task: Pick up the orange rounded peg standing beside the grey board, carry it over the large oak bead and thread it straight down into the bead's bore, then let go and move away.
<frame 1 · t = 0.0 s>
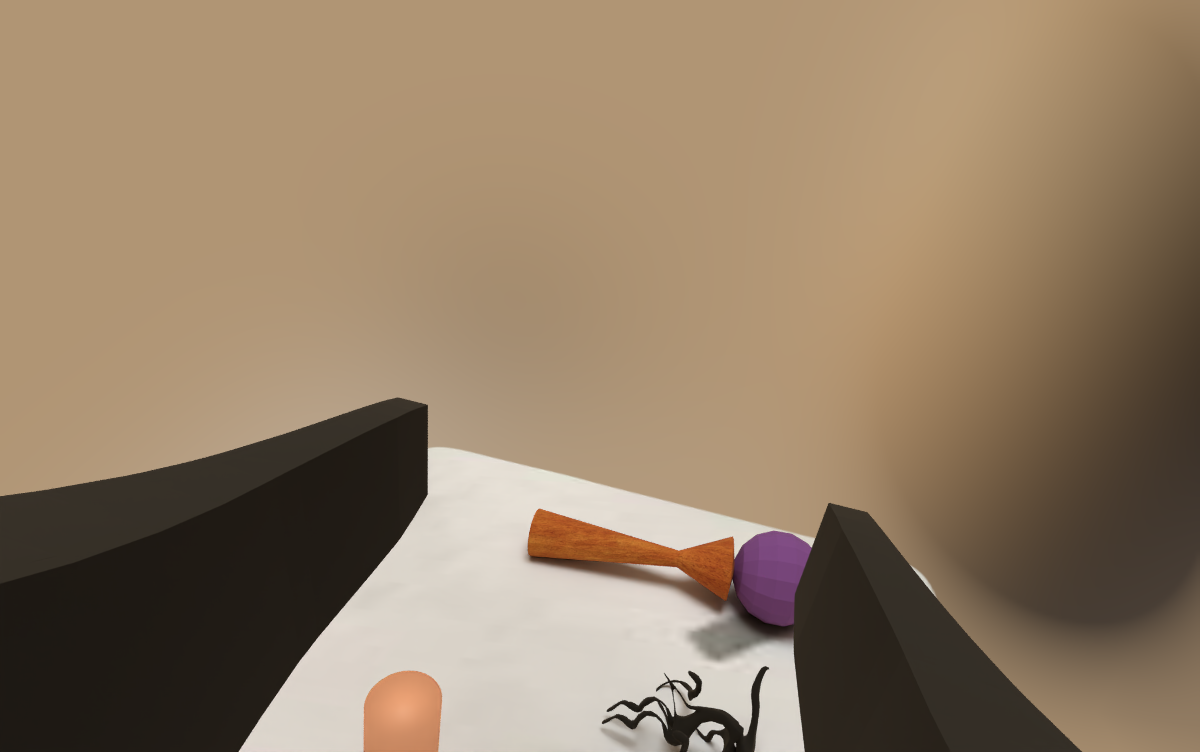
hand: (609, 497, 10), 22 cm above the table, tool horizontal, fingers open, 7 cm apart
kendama: (666, 588, 41), on the table
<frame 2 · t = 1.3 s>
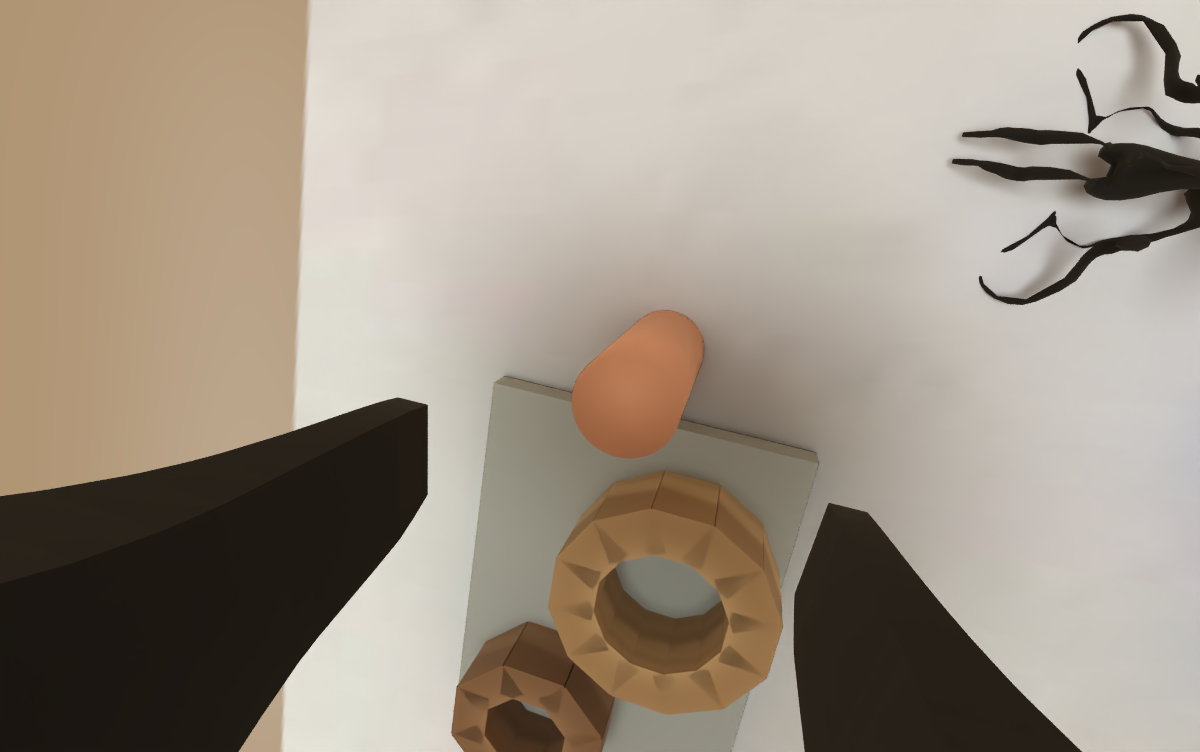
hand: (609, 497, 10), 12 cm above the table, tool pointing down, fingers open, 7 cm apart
creature: (1080, 177, 17), on the table
oak bead: (671, 566, 22), resting on board
board: (615, 590, 24), on the table
walnut bead: (546, 686, 25), resting on board
orange rounded peg: (665, 348, 21), on the table
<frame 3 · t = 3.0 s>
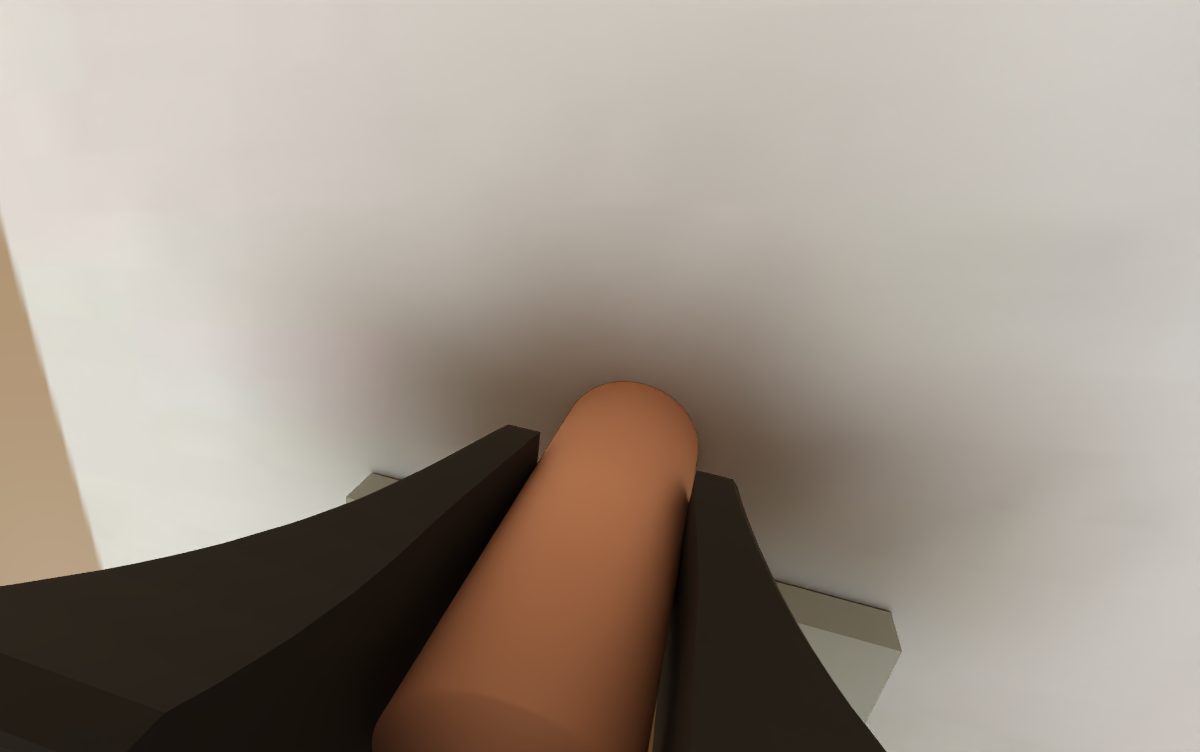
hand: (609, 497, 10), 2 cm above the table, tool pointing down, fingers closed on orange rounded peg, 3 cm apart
orange rounded peg: (629, 443, 12), on the table, touching gripper
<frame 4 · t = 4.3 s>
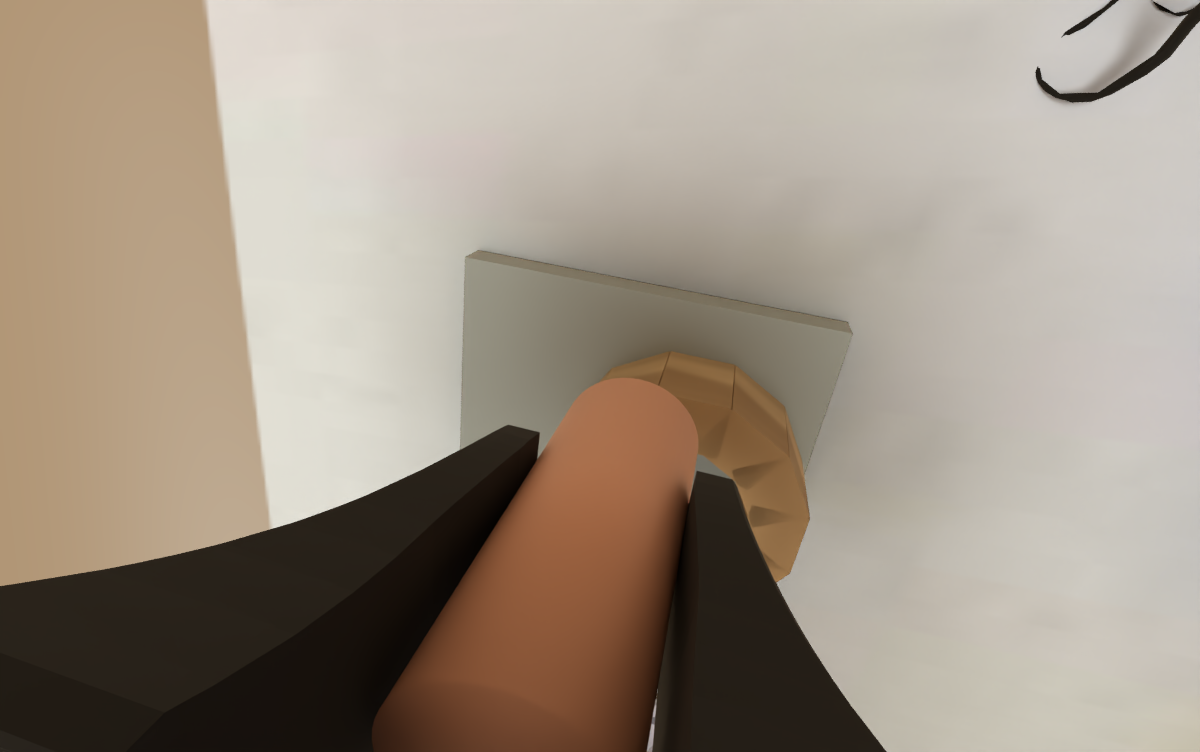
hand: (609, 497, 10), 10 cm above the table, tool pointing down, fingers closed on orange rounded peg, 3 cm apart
oak bead: (679, 458, 20), resting on board
board: (618, 486, 22), on the table
orange rounded peg: (629, 439, 12), point 8 cm above the table, touching gripper
when the fingers open (5 cm above the table, at t = 5.8 s): orange rounded peg drops 2 cm, resting on board.
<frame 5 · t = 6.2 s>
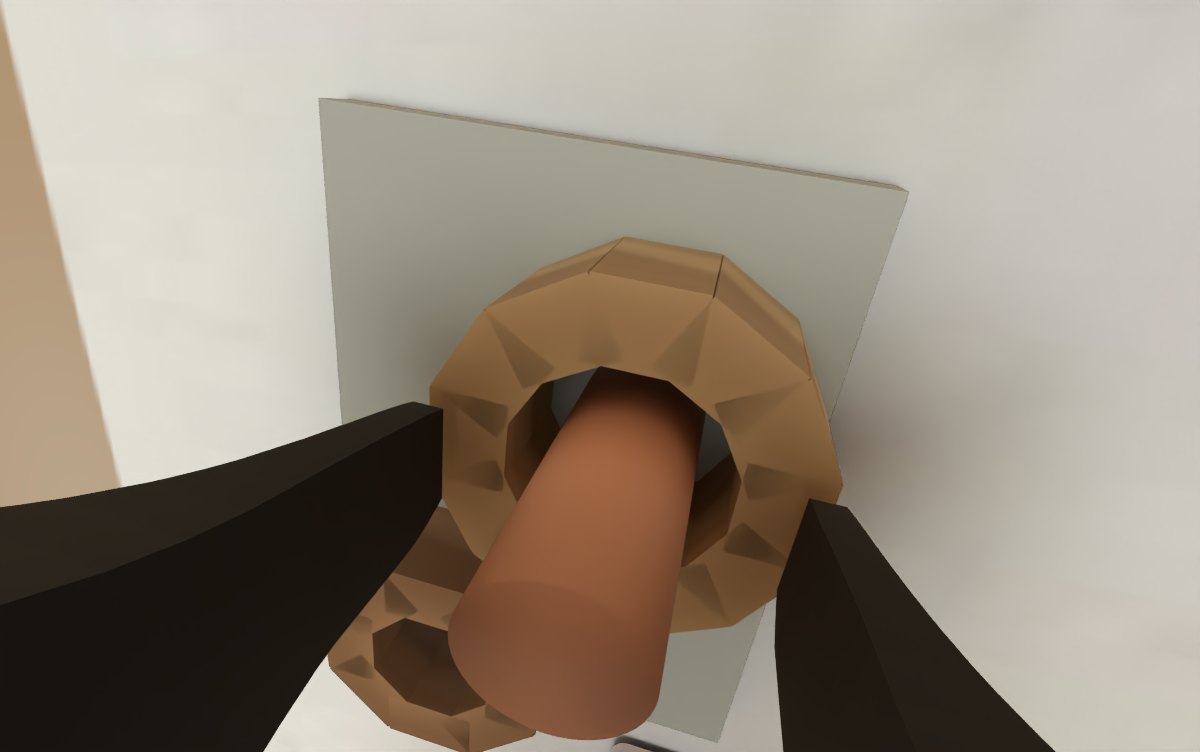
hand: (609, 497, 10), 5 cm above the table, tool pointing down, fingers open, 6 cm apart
oak bead: (643, 407, 14), resting on board
board: (562, 454, 16), on the table
walnut bead: (472, 595, 17), resting on board
orange rounded peg: (644, 406, 14), point 1 cm above the table, touching board
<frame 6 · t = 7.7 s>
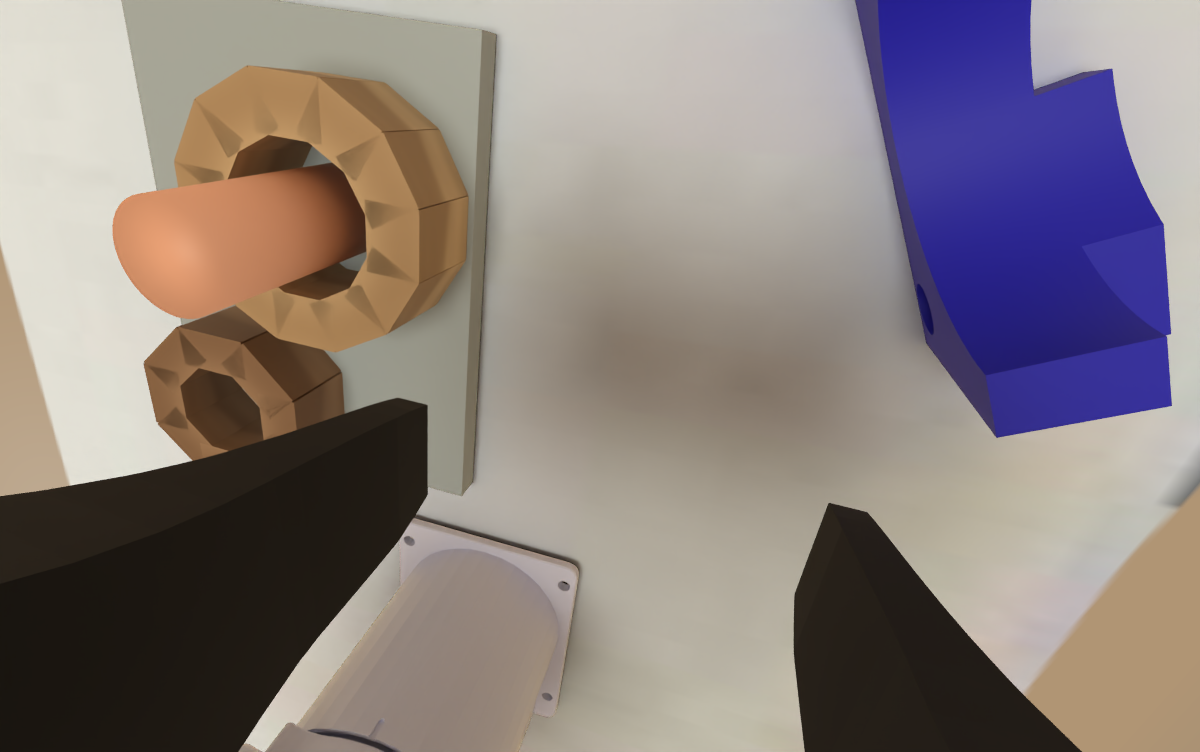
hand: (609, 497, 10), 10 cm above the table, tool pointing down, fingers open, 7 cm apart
oak bead: (359, 206, 19), resting on board
board: (329, 262, 21), on the table
walnut bead: (275, 382, 23), resting on board
blue curved cradle: (973, 109, 15), on the table
orange rounded peg: (358, 205, 19), point 1 cm above the table, touching board
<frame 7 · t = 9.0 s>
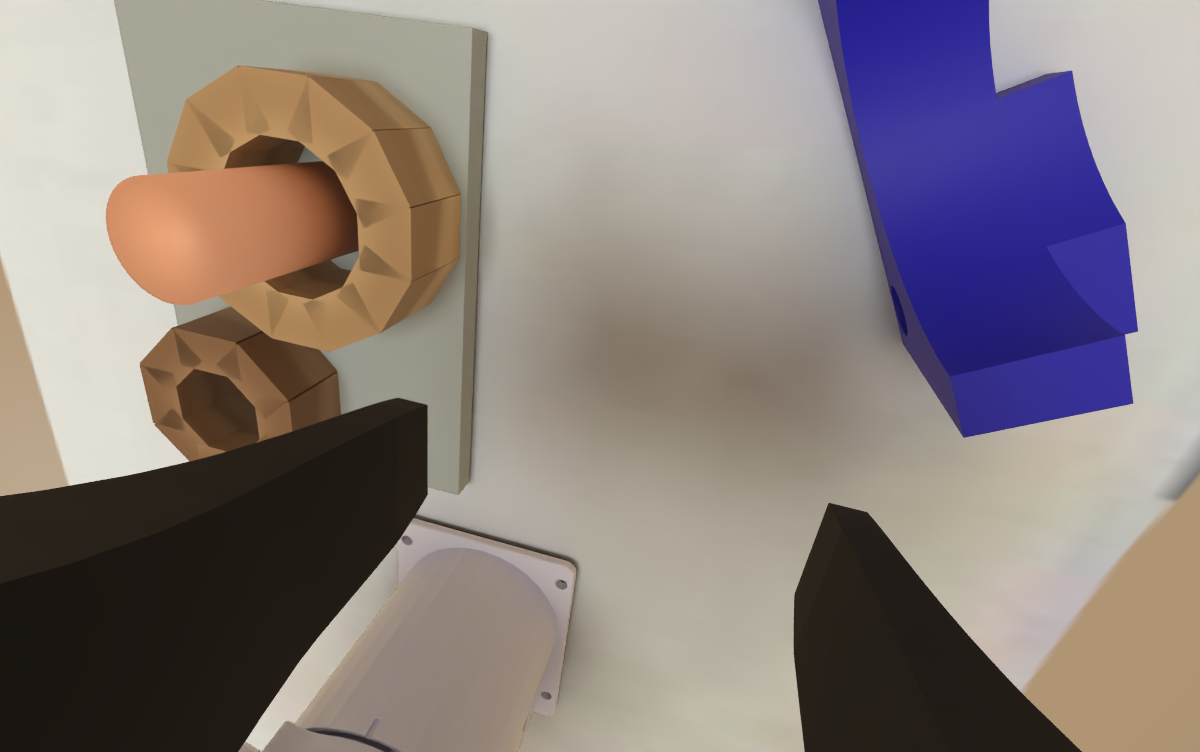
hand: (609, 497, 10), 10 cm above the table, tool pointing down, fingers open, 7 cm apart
oak bead: (352, 206, 19), resting on board
board: (324, 262, 21), on the table
walnut bead: (271, 383, 23), resting on board
blue curved cradle: (941, 112, 16), on the table
orange rounded peg: (352, 205, 19), point 1 cm above the table, touching board
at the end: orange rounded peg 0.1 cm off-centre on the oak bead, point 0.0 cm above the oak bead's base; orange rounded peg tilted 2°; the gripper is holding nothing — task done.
